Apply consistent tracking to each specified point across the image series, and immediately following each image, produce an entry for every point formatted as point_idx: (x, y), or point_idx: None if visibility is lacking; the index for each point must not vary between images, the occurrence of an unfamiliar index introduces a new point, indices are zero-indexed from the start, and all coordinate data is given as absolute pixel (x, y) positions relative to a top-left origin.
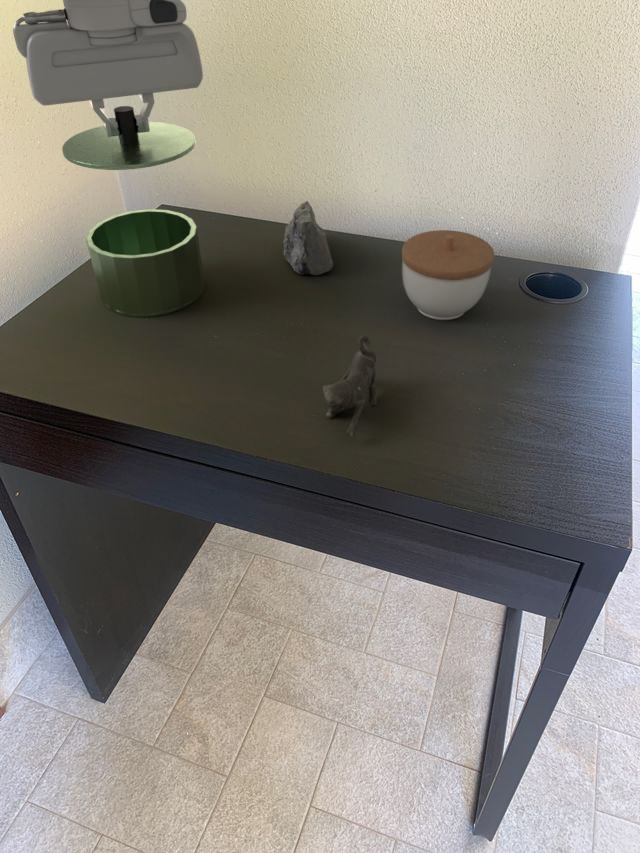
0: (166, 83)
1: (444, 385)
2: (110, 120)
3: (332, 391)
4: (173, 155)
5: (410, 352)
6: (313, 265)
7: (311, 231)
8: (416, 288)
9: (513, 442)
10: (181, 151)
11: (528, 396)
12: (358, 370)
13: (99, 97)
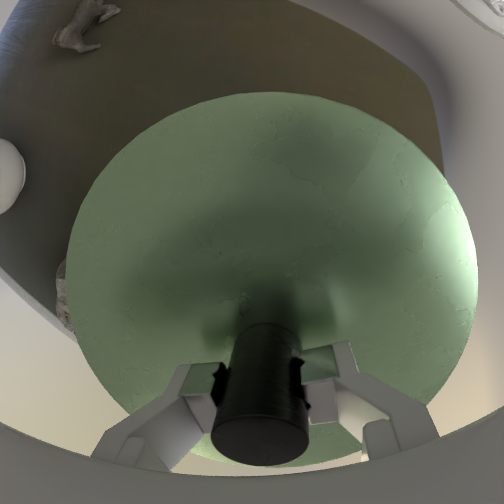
0: (10, 451)
1: (38, 61)
2: (331, 400)
3: None
4: (100, 183)
5: (42, 101)
6: None
7: (63, 270)
8: (6, 149)
9: (34, 17)
10: (82, 220)
11: (9, 61)
12: (75, 14)
13: (405, 456)
